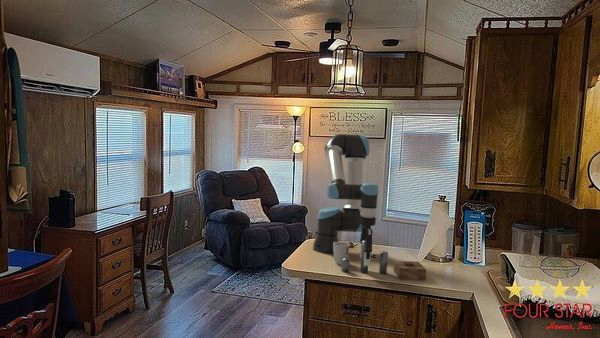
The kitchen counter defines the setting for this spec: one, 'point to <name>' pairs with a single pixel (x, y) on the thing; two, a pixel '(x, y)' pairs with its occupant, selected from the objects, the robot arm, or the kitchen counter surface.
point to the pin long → (363, 268)
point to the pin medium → (383, 262)
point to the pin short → (345, 264)
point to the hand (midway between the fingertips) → (364, 261)
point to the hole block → (409, 270)
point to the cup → (340, 251)
